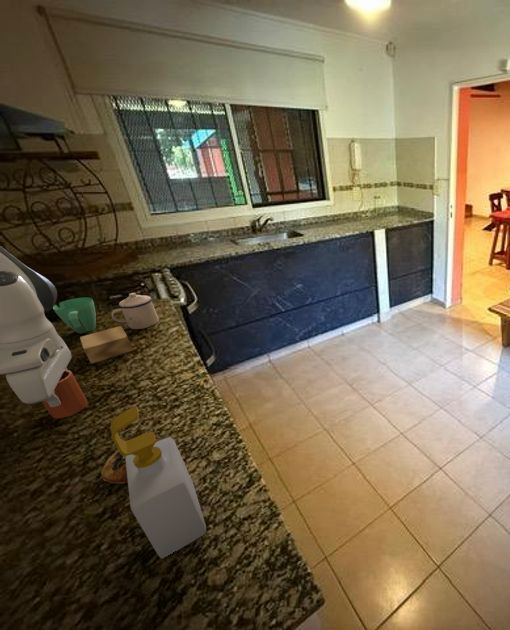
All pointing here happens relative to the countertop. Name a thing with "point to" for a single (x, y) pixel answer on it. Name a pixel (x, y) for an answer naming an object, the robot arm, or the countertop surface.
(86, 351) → the block
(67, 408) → the cup
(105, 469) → the bread roll
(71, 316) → the mug
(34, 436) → the countertop surface
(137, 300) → the teacup with lid
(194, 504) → the soap bottle
